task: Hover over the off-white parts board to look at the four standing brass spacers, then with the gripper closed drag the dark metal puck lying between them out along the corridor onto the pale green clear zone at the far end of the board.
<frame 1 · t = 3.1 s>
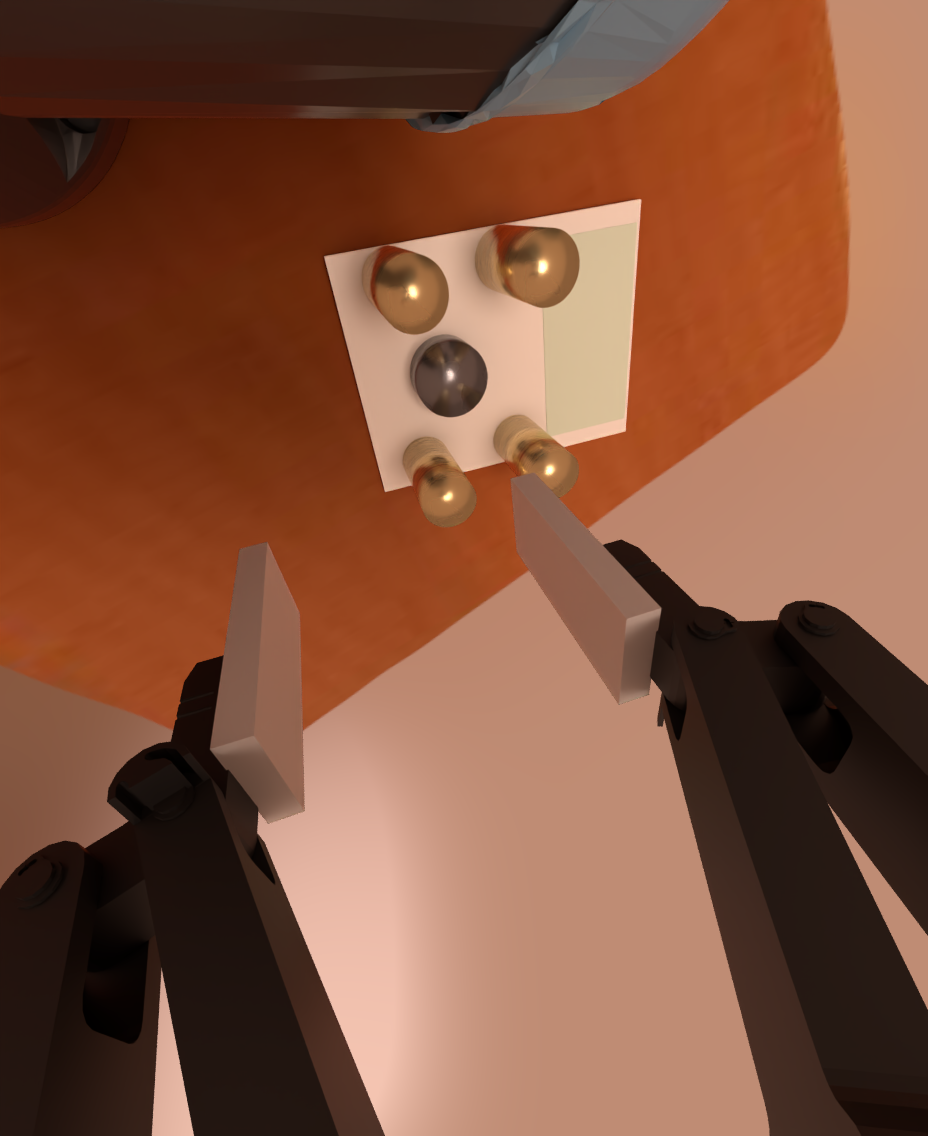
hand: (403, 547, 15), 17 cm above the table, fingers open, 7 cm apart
board: (498, 357, 30), on the table
spacer a: (391, 280, 26), resting on board
spacer b: (426, 459, 32), resting on board
dark metal puck: (444, 371, 29), resting on board
spacer c: (501, 258, 26), resting on board
spacer d: (515, 437, 32), point 1 cm above the table, touching board
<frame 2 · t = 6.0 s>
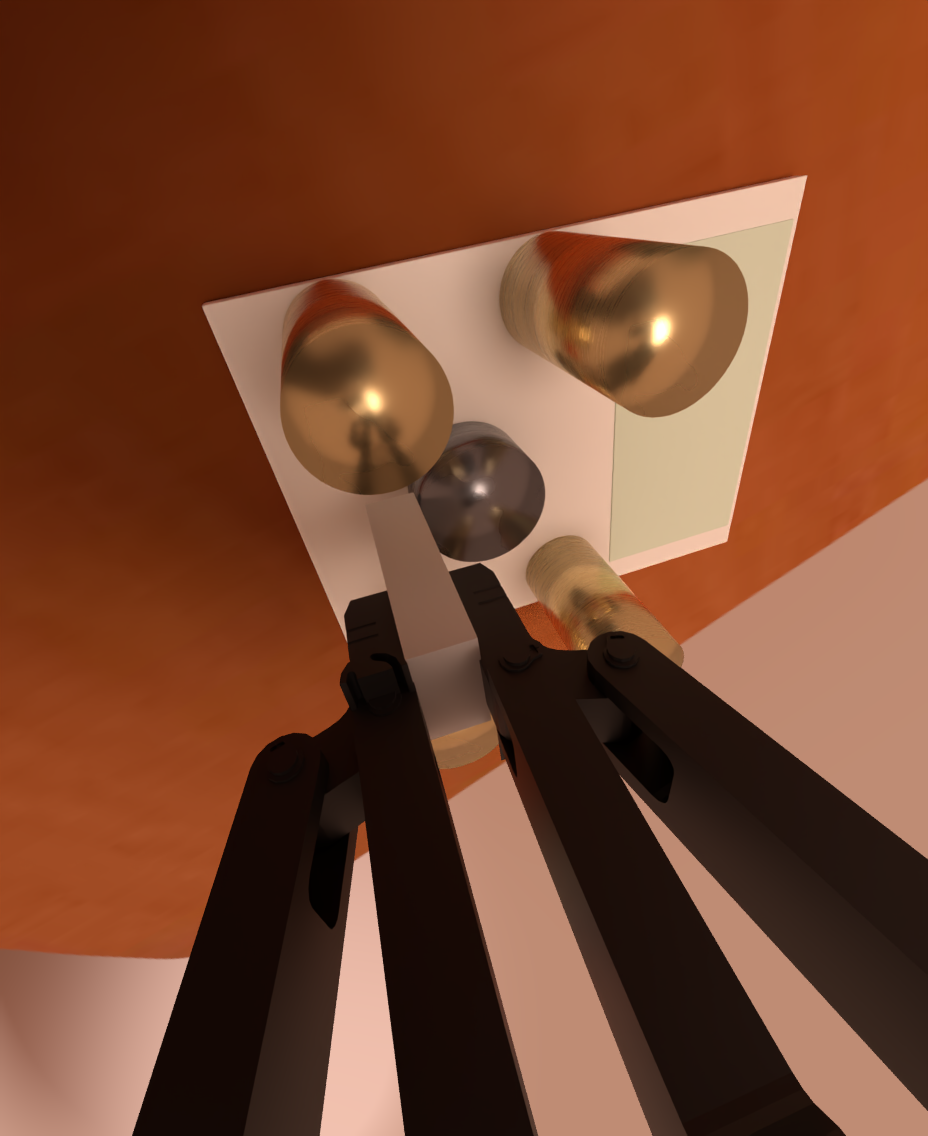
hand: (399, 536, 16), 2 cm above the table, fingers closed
board: (536, 453, 18), on the table
spacer a: (341, 342, 13), resting on board
spacer b: (418, 610, 20), resting on board
dark metal puck: (466, 479, 17), point 1 cm above the table, touching gripper
spacer c: (549, 294, 14), resting on board
spacer d: (560, 566, 20), point 1 cm above the table, touching board
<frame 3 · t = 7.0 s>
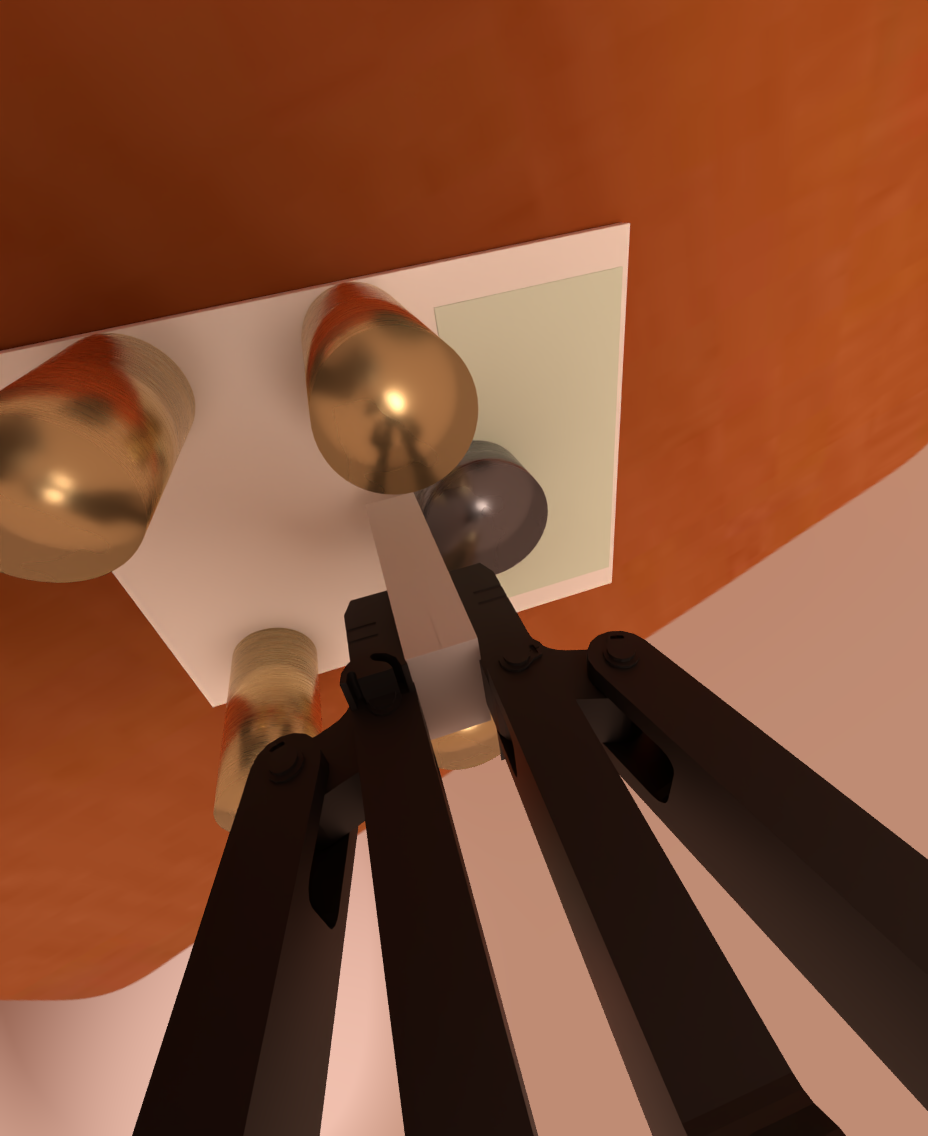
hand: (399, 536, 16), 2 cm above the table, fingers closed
board: (383, 499, 17), on the table
spacer a: (129, 396, 13), resting on board
spacer b: (275, 657, 19), resting on board
dark metal puck: (470, 496, 17), point 1 cm above the table, touching board
spacer c: (359, 344, 14), resting on board
spacer d: (428, 611, 20), point 1 cm above the table, touching board
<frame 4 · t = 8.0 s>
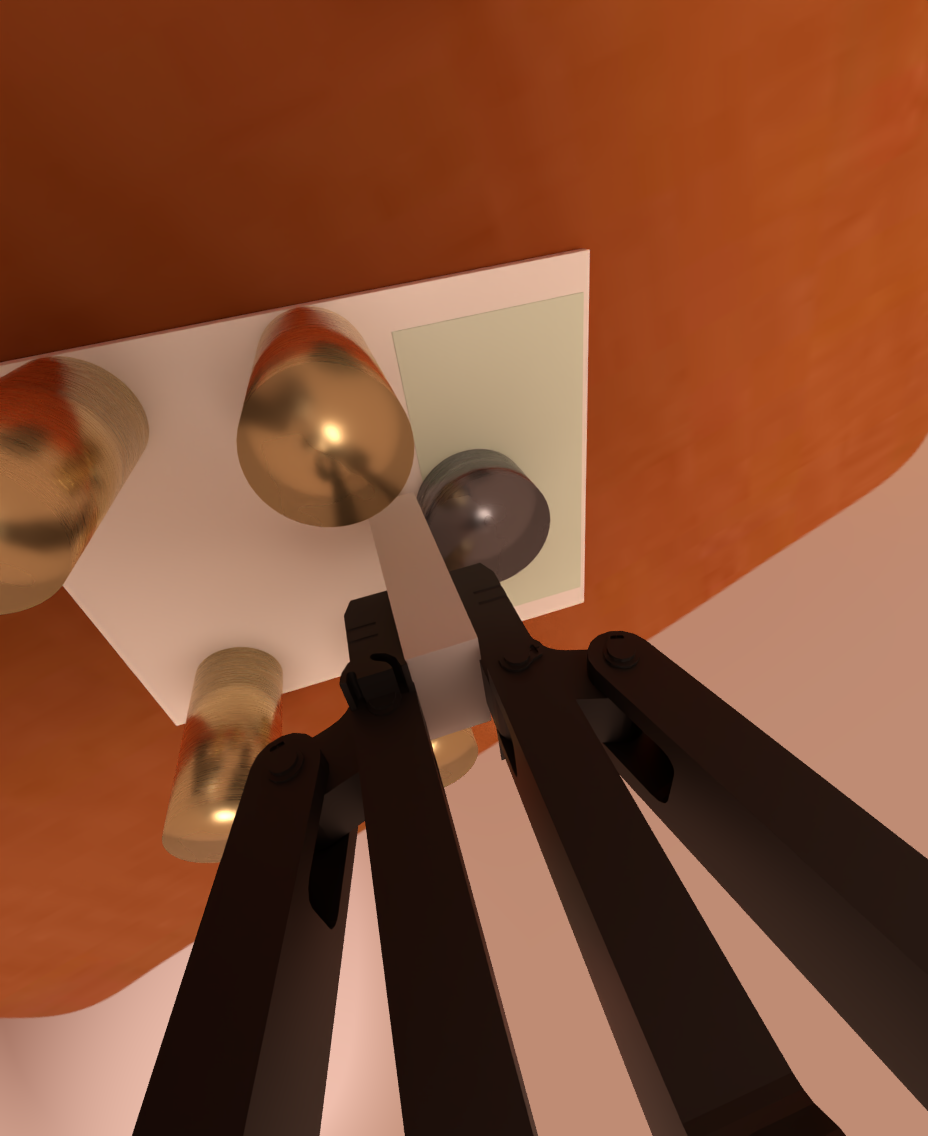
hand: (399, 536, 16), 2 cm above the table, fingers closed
board: (347, 520, 17), on the table
spacer a: (80, 419, 13), resting on board
spacer b: (240, 676, 19), resting on board
dark metal puck: (472, 504, 17), point 1 cm above the table, touching board
spacer c: (316, 368, 13), resting on board
spacer d: (396, 631, 20), point 1 cm above the table, touching board
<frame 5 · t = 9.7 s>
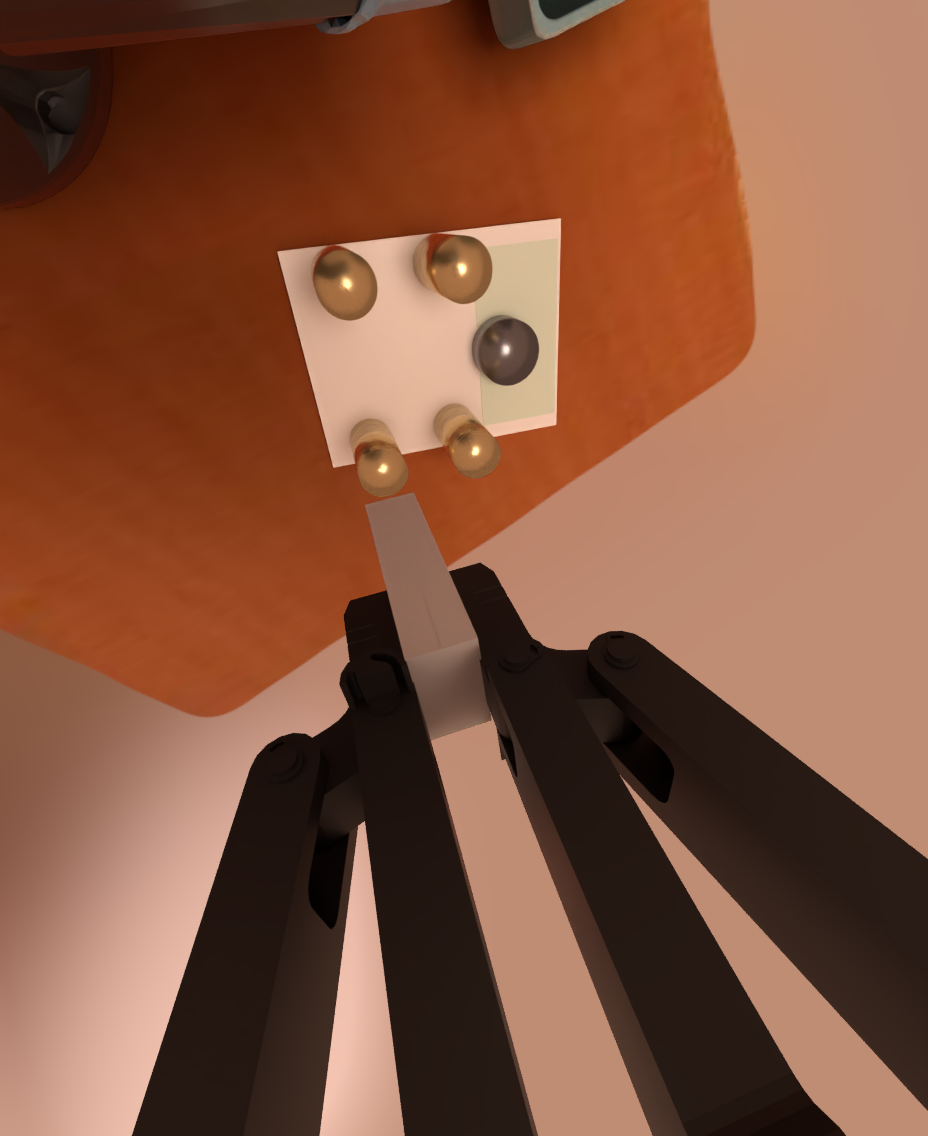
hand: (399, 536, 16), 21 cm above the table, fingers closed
board: (437, 350, 33), on the table
spacer a: (337, 275, 29), resting on board
spacer b: (371, 439, 35), resting on board
dark metal puck: (500, 347, 34), point 1 cm above the table, touching board
spacer c: (437, 263, 30), resting on board
spacer d: (453, 424, 36), point 1 cm above the table, touching board
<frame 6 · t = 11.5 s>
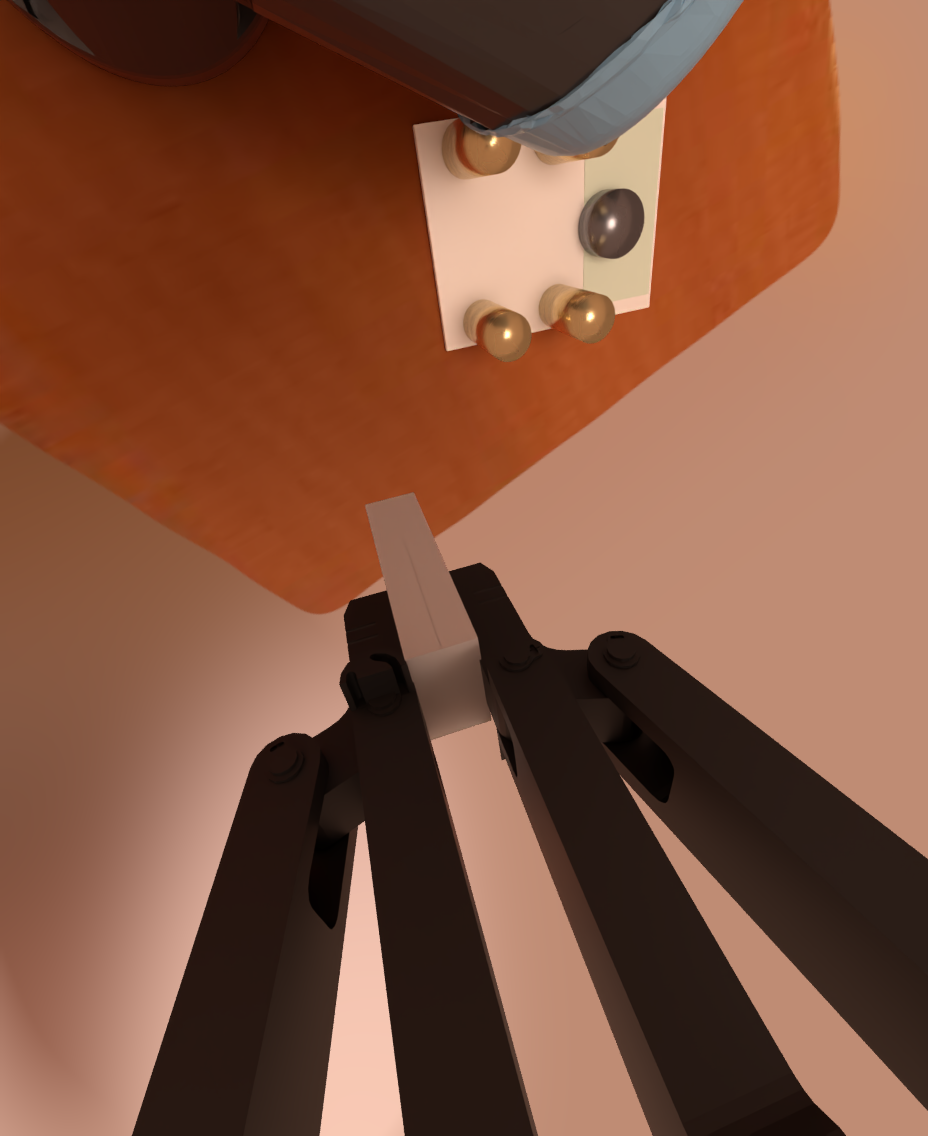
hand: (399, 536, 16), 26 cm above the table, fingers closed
board: (545, 229, 36), on the table
spacer a: (464, 149, 31), resting on board
spacer b: (482, 321, 37), resting on board
dark metal puck: (603, 224, 36), point 1 cm above the table, touching board
spacer c: (553, 135, 32), resting on board
spacer d: (556, 306, 38), point 1 cm above the table, touching board
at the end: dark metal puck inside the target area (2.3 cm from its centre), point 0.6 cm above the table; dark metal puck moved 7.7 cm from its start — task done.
